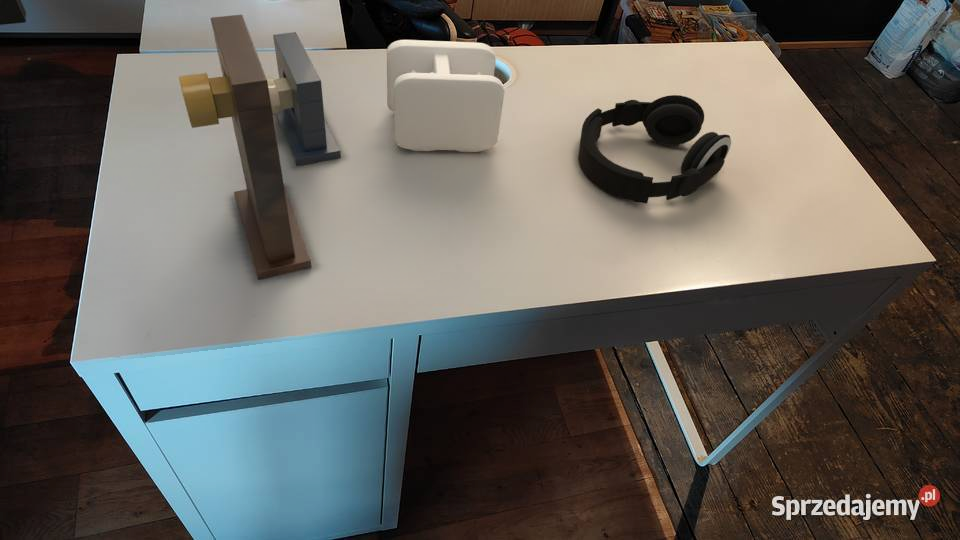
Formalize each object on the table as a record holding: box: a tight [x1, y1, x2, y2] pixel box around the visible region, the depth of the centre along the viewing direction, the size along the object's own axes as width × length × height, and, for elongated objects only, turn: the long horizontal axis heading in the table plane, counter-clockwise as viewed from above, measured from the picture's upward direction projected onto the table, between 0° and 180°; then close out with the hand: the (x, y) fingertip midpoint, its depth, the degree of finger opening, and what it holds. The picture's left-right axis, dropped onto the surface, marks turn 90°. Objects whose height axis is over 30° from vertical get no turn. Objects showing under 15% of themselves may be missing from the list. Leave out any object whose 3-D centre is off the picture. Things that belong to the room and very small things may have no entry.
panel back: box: [272, 31, 342, 167], centre depth 88 cm, size 6×14×12 cm, turn 25°
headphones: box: [577, 94, 732, 204], centre depth 92 cm, size 18×8×20 cm
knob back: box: [266, 75, 294, 116], centre depth 86 cm, size 6×5×5 cm
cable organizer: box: [386, 39, 505, 153], centre depth 91 cm, size 15×11×12 cm
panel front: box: [210, 14, 313, 281], centre depth 70 cm, size 6×14×24 cm, turn 23°
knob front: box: [178, 72, 236, 129], centre depth 64 cm, size 6×5×5 cm
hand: (18, 0), depth 51 cm, fingers closed
